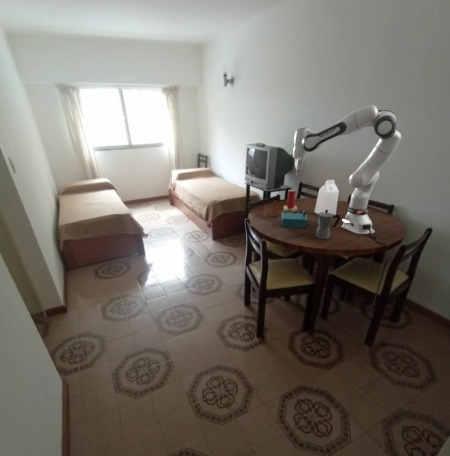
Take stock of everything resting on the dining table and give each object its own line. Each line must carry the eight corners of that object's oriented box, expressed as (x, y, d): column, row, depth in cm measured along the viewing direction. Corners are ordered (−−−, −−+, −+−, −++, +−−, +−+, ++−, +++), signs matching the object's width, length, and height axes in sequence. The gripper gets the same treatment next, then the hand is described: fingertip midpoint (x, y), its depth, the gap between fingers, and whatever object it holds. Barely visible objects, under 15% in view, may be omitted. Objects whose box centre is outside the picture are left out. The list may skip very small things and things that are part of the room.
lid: (306, 214, 202) (306, 208, 199) (307, 220, 190) (308, 213, 188) (282, 213, 204) (282, 207, 202) (282, 219, 193) (282, 213, 191)
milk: (326, 210, 228) (332, 178, 216) (335, 214, 219) (342, 181, 206) (314, 212, 225) (319, 179, 212) (323, 216, 216) (328, 182, 203)
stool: (295, 215, 217) (296, 206, 214) (296, 220, 209) (297, 209, 205) (282, 215, 219) (283, 205, 215) (283, 219, 210) (284, 209, 206)
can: (295, 208, 208) (297, 190, 202) (288, 209, 207) (290, 191, 201) (292, 206, 213) (294, 189, 207) (285, 206, 212) (287, 189, 206)
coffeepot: (311, 237, 179) (315, 211, 170) (312, 232, 186) (316, 206, 177) (336, 241, 173) (341, 213, 165) (336, 235, 181) (342, 209, 172)
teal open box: (303, 222, 205) (304, 214, 202) (305, 228, 193) (306, 220, 191) (281, 221, 207) (282, 213, 204) (281, 227, 196) (282, 219, 193)
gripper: (306, 156, 176) (303, 178, 182) (303, 152, 193) (301, 173, 200) (295, 156, 177) (294, 178, 183) (294, 153, 194) (292, 173, 201)
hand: (297, 175), depth 192 cm, fingers closed
